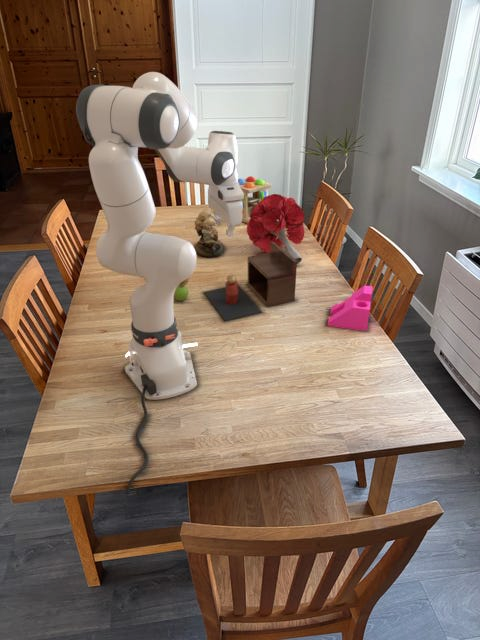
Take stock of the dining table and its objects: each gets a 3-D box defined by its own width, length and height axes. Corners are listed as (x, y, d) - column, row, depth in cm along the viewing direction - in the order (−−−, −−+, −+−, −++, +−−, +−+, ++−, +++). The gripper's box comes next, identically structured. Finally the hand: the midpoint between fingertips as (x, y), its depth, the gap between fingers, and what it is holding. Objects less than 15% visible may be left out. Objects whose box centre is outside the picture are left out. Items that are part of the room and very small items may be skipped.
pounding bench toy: (283, 222, 230) (285, 184, 220) (260, 229, 222) (261, 190, 212) (251, 208, 245) (251, 172, 235) (228, 215, 237) (228, 178, 227)
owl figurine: (227, 258, 198) (226, 217, 188) (197, 260, 196) (195, 219, 187) (220, 240, 213) (219, 201, 203) (193, 242, 211) (191, 203, 202)
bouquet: (313, 270, 203) (283, 215, 214) (330, 235, 182) (296, 175, 194) (266, 284, 196) (237, 226, 208) (278, 248, 176) (245, 186, 187)
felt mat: (261, 312, 163) (261, 311, 162) (225, 321, 158) (225, 320, 158) (237, 285, 178) (237, 284, 178) (203, 292, 174) (203, 291, 174)
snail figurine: (189, 304, 167) (187, 272, 160) (170, 302, 168) (168, 270, 161) (193, 296, 171) (191, 265, 165) (175, 294, 172) (173, 263, 166)
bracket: (368, 314, 162) (372, 286, 156) (366, 331, 153) (371, 302, 148) (331, 309, 164) (334, 281, 159) (327, 325, 156) (330, 297, 151)
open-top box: (294, 300, 169) (297, 261, 161) (268, 306, 166) (269, 266, 158) (272, 279, 182) (273, 241, 174) (247, 284, 179) (247, 246, 171)
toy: (240, 302, 167) (240, 276, 162) (228, 305, 166) (228, 278, 160) (235, 297, 171) (235, 271, 165) (223, 299, 169) (223, 273, 164)
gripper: (202, 178, 156) (203, 220, 164) (225, 198, 140) (226, 243, 148) (220, 176, 158) (221, 217, 166) (246, 195, 142) (246, 240, 150)
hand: (224, 230), depth 157 cm, fingers open, 8 cm apart
